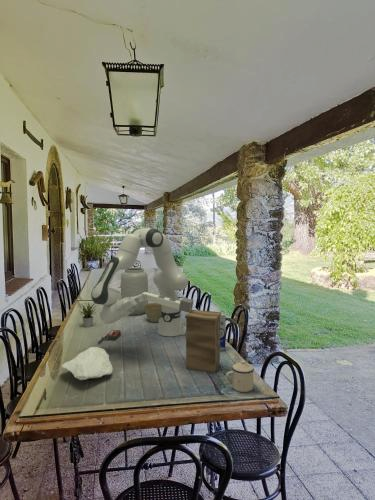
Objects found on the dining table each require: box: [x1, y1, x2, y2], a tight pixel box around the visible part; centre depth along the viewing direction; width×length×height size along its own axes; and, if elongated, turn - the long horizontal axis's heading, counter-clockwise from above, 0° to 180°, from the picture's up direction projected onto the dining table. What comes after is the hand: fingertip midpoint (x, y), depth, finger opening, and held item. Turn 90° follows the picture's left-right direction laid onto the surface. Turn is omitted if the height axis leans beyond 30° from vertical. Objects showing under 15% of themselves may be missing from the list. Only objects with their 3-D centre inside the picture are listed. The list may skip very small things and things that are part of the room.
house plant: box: [79, 302, 98, 328], centre depth 243 cm, size 14×14×16 cm
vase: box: [120, 267, 149, 316], centre depth 275 cm, size 20×20×34 cm
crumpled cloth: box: [61, 346, 113, 381], centre depth 171 cm, size 24×35×9 cm
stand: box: [184, 309, 222, 374], centre depth 177 cm, size 12×15×26 cm
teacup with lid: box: [225, 360, 255, 393], centre depth 156 cm, size 12×9×12 cm
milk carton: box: [220, 314, 227, 352], centre depth 201 cm, size 7×7×20 cm
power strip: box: [142, 291, 195, 314], centre depth 185 cm, size 6×26×5 cm, turn 73°
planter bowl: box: [144, 302, 162, 323], centre depth 256 cm, size 16×16×11 cm
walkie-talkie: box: [97, 329, 122, 344], centre depth 218 cm, size 9×4×20 cm
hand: (148, 294), depth 187 cm, fingers closed on power strip, 4 cm apart
